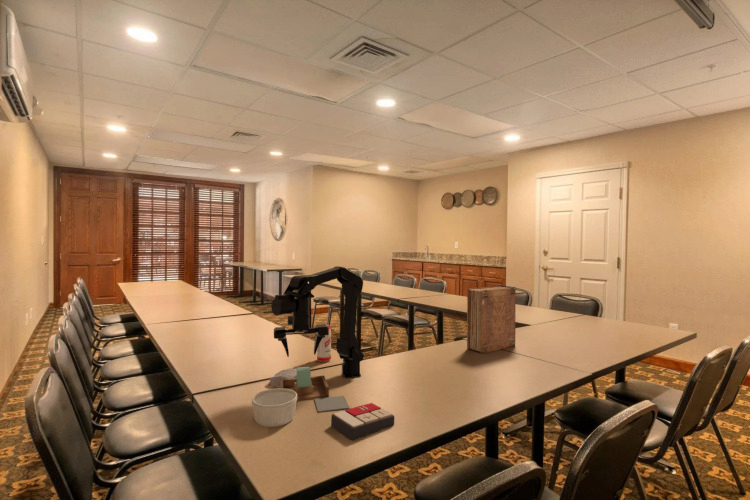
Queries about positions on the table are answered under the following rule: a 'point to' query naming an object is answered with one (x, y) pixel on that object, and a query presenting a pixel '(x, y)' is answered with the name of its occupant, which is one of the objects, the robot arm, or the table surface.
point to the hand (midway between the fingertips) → (301, 355)
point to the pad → (331, 404)
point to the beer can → (325, 347)
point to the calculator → (361, 421)
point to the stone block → (283, 376)
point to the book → (490, 318)
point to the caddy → (308, 388)
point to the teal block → (303, 377)
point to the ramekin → (274, 407)
